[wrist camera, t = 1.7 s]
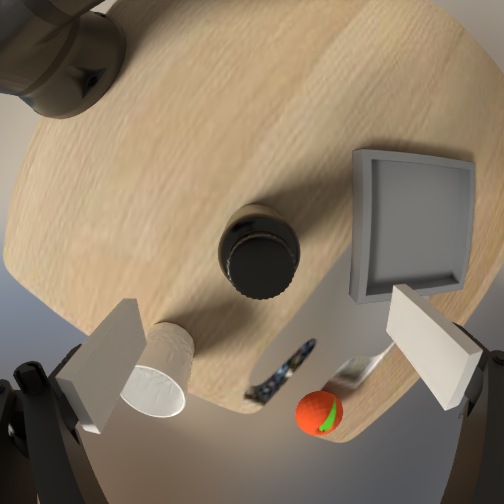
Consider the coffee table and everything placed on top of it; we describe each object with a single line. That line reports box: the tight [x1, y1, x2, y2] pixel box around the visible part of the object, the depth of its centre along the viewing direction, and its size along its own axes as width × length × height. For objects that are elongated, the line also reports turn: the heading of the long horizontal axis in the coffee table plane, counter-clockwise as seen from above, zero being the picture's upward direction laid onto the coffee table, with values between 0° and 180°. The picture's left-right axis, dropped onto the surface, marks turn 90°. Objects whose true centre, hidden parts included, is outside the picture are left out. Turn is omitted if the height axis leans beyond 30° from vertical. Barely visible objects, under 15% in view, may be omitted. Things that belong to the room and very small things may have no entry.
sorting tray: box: [349, 149, 475, 304], centre depth 29 cm, size 17×17×3 cm
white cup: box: [120, 322, 195, 417], centre depth 30 cm, size 8×8×10 cm
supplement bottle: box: [218, 204, 300, 300], centre depth 25 cm, size 7×7×12 cm
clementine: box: [296, 391, 343, 435], centre depth 34 cm, size 8×7×7 cm
